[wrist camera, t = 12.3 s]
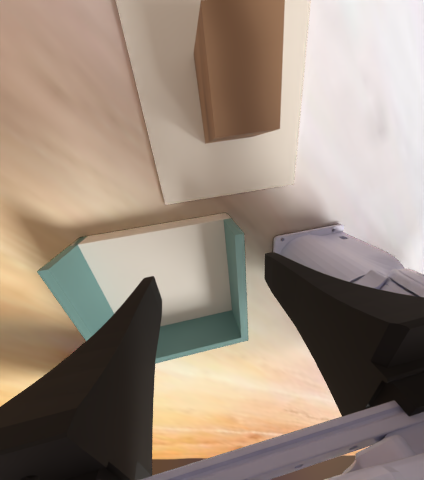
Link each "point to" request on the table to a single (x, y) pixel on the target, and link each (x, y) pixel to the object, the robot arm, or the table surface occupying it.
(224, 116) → the walnut block
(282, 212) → the table surface
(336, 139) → the table surface
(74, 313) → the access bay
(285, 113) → the mat
